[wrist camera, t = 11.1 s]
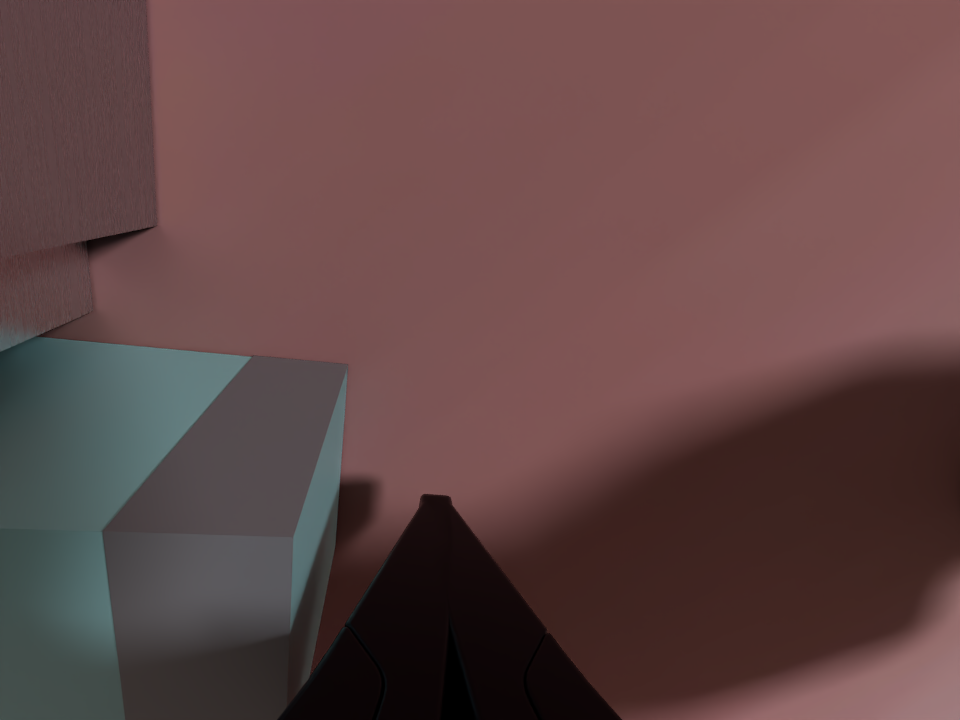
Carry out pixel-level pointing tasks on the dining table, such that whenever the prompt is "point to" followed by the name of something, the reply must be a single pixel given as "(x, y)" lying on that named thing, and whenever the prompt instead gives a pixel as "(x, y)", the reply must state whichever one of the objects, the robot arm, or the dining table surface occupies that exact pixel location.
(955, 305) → the dining table surface
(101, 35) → the bracket
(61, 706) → the plug
